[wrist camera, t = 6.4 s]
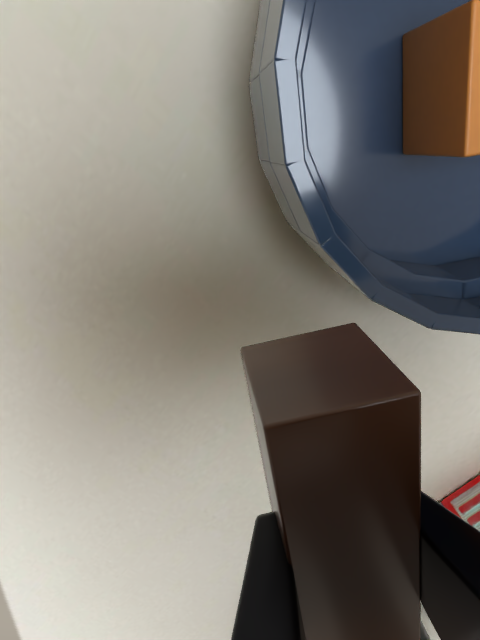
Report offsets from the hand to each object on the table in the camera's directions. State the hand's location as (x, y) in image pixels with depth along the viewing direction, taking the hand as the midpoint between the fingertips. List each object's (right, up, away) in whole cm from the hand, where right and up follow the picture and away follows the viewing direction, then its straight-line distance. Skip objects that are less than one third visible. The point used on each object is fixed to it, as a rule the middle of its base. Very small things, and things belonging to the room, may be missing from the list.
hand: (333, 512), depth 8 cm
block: (+6, +12, +7) cm, 16 cm away
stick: (0, 0, +1) cm, 1 cm away
